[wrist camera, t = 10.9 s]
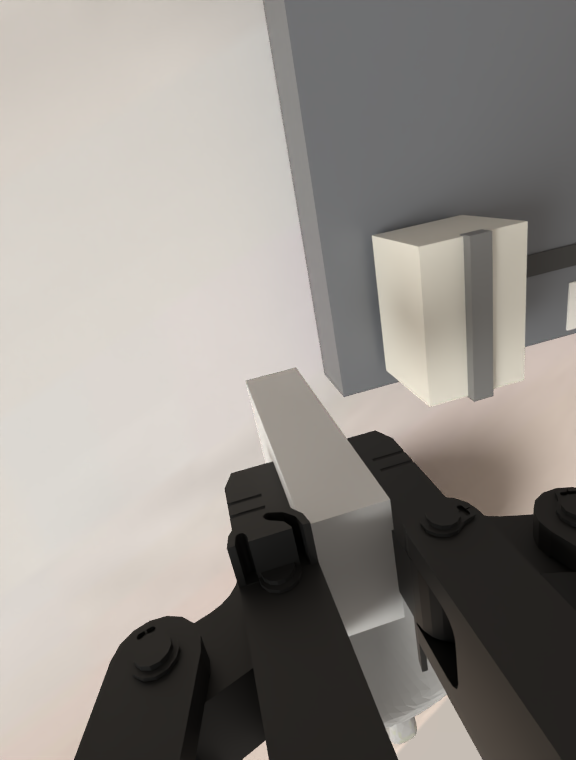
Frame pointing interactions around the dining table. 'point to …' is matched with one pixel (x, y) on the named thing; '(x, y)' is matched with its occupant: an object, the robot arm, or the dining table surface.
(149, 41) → the dining table surface
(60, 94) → the dining table surface
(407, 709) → the teacup
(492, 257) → the block
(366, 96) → the console
